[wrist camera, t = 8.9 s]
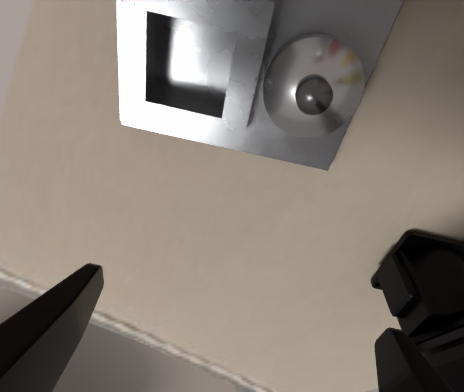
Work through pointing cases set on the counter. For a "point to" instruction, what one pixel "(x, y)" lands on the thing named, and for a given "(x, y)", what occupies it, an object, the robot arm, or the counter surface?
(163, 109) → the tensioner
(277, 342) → the counter surface
